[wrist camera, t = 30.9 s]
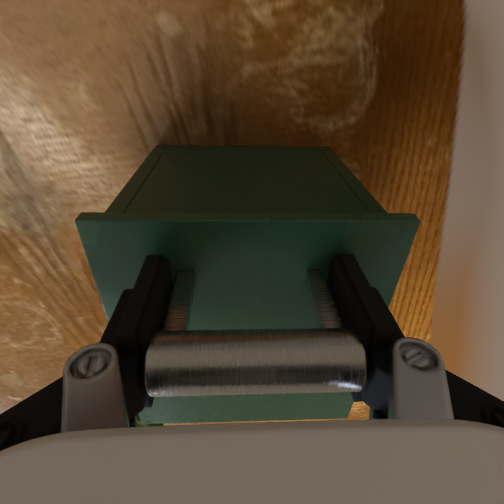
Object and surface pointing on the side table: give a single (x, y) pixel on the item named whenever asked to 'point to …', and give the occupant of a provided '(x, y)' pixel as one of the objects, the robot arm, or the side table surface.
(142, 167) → the bin
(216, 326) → the bin lid
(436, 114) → the side table surface
